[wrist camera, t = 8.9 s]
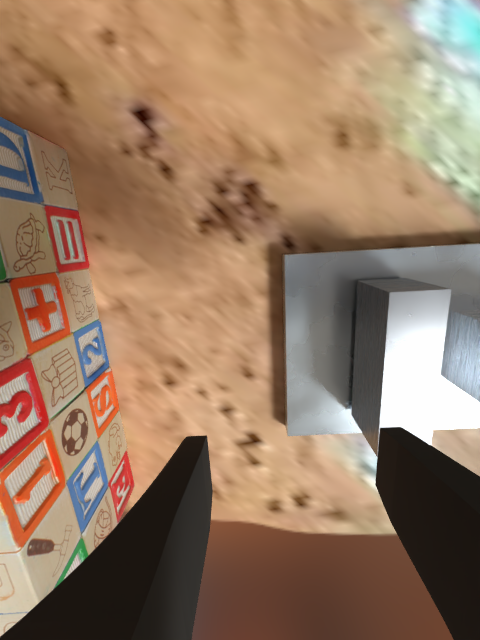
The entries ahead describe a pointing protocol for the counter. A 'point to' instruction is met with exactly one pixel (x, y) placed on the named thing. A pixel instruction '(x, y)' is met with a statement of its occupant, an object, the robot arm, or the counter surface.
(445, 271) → the base
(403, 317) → the block
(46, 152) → the stack of blocks
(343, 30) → the counter surface
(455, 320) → the aluminium block
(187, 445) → the robot arm
